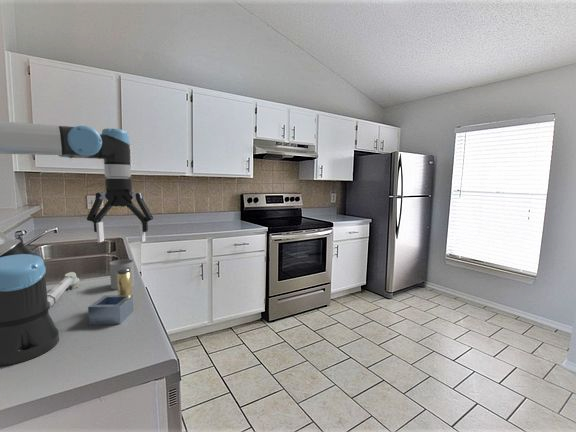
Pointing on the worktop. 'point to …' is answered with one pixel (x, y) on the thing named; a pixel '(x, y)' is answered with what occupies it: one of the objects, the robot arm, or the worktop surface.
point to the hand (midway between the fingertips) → (122, 241)
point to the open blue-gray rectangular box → (110, 309)
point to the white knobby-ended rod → (62, 288)
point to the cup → (116, 265)
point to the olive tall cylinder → (124, 281)
